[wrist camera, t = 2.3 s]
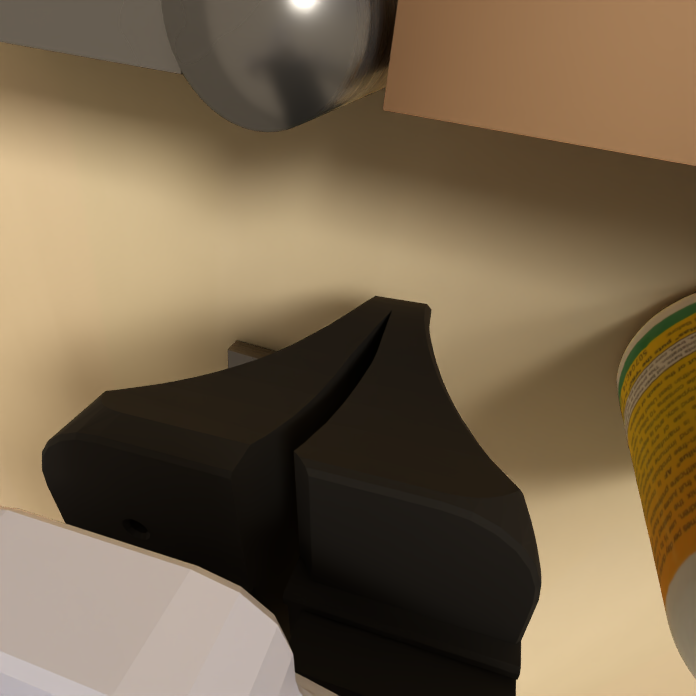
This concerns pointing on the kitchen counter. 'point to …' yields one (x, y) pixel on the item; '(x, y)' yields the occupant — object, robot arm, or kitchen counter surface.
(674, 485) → the supplement bottle
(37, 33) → the fence
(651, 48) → the brown wooden block
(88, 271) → the kitchen counter surface
